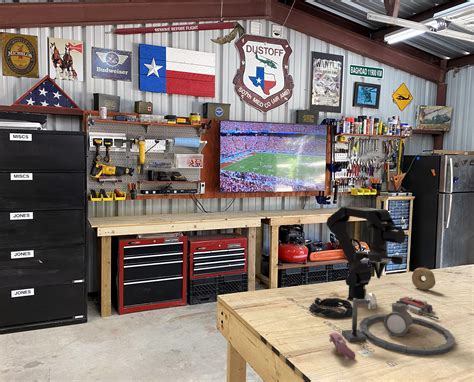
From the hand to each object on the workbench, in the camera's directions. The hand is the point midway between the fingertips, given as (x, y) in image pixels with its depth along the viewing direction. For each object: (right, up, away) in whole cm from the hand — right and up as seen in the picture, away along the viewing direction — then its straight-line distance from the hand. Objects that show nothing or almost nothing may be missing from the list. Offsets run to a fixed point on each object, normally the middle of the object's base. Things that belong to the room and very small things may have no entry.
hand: (378, 278), depth 169 cm
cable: (-20, -13, -5) cm, 25 cm away
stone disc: (+30, -11, +26) cm, 41 cm away
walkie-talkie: (+16, -13, -2) cm, 21 cm away
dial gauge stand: (-17, -14, -28) cm, 36 cm away
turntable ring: (+1, -14, -25) cm, 29 cm away
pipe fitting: (0, -14, -22) cm, 26 cm away
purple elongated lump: (-25, -15, -39) cm, 49 cm away
